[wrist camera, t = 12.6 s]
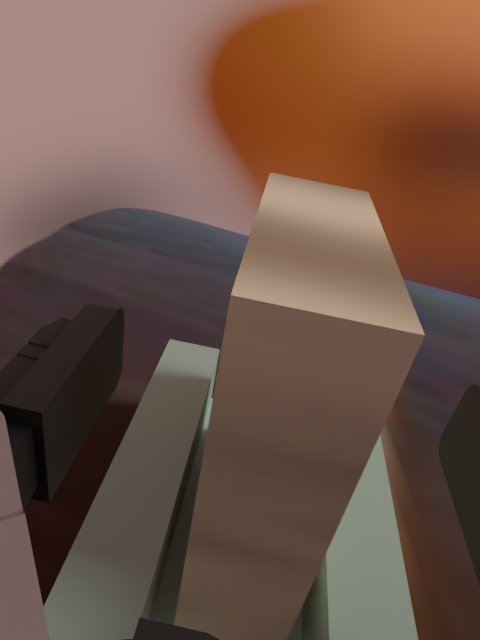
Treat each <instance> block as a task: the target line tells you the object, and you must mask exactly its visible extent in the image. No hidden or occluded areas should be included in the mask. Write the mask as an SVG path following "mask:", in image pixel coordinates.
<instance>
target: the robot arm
mask: <svg viewBox="0 0 480 640" xmlns="http://www.w3.org/2000/svg"><path fill="white" fill-rule="evenodd" d="M123 338H124V311H123V309H121V308H117V307H112V306H108V305H103V304H98V303H94V302H89V303H87V304H86V305H85V306H84V308H83V309H82V310H81V311H80V312H79V313H78V314H77V315H76V317H75V318H74V319H73V320H69V319H65V318H61V319H59V320H57V321H55V322H53V323H51V324H49V325H47V326H45V327H43V328H41V329H40V330H39V331H38V332H37V333H36V334H35V335H34V336H33V337H32V338H31V339H30V340H29V342H28V345H25V346H24V347H23V348H22V349H21V350H20V351H19V352H18V353H17V356H16V357H13V358H12V359H11V360H10V361H9V362H8V363H7V364H6V365H5V366H4V367H3V369H2V370H1V371H0V640H50V638H49V633H48V628H47V623H46V618H45V613H44V608H43V603H42V598H41V592H40V587H39V582H38V577H37V572H36V567H35V562H34V557H33V551H32V546H31V541H30V536H29V531H28V526H27V521H26V516H25V512H24V508H25V507H26V505H27V504H28V502H29V500H30V499H36V500H40V501H44V502H49V503H50V501H51V499H52V498H53V496H54V494H55V492H56V491H57V489H58V487H59V485H60V484H61V482H62V480H63V478H64V477H65V475H66V473H67V472H68V470H69V468H70V466H71V465H72V463H73V461H74V459H75V458H76V456H77V454H78V452H79V451H80V449H81V447H82V445H83V444H84V442H85V440H86V438H87V437H88V435H89V433H90V432H91V430H92V428H93V426H94V425H95V423H96V421H97V419H98V418H99V416H100V414H101V412H102V411H103V409H104V407H105V405H106V404H107V402H108V400H109V398H110V397H111V395H112V393H113V392H114V390H115V388H116V386H117V384H118V381H119V378H120V374H121V370H122V363H123ZM439 456H440V461H441V464H442V468H443V471H444V474H445V477H446V480H447V483H448V487H449V490H450V493H451V496H452V499H453V503H454V506H455V509H456V512H457V515H458V518H459V522H460V525H461V528H462V531H463V534H464V538H465V541H466V544H467V547H468V550H469V553H470V557H471V560H472V563H473V566H474V569H475V573H476V576H477V579H478V582H479V585H480V385H472V386H470V387H469V388H468V389H467V390H466V392H465V393H464V395H463V397H462V399H461V401H460V402H459V404H458V406H457V408H456V410H455V411H454V413H453V415H452V417H451V419H450V421H449V422H448V424H447V426H446V428H445V430H444V431H443V433H442V436H441V440H440V445H439ZM122 640H219V639H218V638H216V637H214V636H212V635H211V634H209V633H206V632H201V631H197V630H193V629H189V628H184V627H180V626H176V625H171V624H167V623H163V622H158V621H154V620H150V619H145V618H141V617H139V620H138V624H137V627H136V630H135V634H134V637H133V639H122Z"/></svg>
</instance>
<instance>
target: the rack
mask: <svg viewBox="0 0 480 640" xmlns="http://www.w3.org/2000/svg"><path fill="white" fill-rule="evenodd" d="M218 356H219V349H214V348H210V347H205V346H200V345H195V344H190V343H186V342H181V341H176V340H171V339H170V340H169V342H168V344H167V346H166V349H165V351H164V353H163V355H162V357H161V359H160V361H159V363H158V365H157V368H156V370H155V372H154V374H153V376H152V378H151V380H150V382H149V385H148V387H147V389H146V391H145V393H144V395H143V397H142V399H141V401H140V404H139V406H138V408H137V410H136V412H135V414H134V416H133V418H132V421H131V423H130V425H129V427H128V429H127V431H126V433H125V435H124V437H123V440H122V442H121V444H120V446H119V448H118V450H117V452H116V454H115V457H114V459H113V461H112V463H111V465H110V467H109V469H108V471H107V473H106V476H105V478H104V480H103V482H102V484H101V486H100V488H99V490H98V493H97V495H96V497H95V499H94V501H93V503H92V505H91V507H90V509H89V512H88V514H87V516H86V518H85V520H84V522H83V524H82V526H81V528H80V531H79V533H78V535H77V537H76V539H75V541H74V543H73V545H72V548H71V550H70V552H69V554H68V556H67V558H66V560H65V562H64V564H63V567H62V569H61V571H60V573H59V575H58V577H57V579H56V581H55V584H54V586H53V588H52V590H51V592H50V594H49V596H48V598H47V600H46V603H45V605H44V607H43V608H44V613H45V618H46V623H47V628H48V633H49V638H50V640H122V639H133V637H134V634H135V630H136V627H137V624H138V620H139V617H141V618H145V619H150V620H154V621H158V622H163V623H167V624H171V625H174V622H175V616H176V610H177V604H178V598H179V593H180V587H181V581H182V575H183V569H184V564H185V558H186V552H187V546H188V540H189V535H190V529H191V523H192V517H193V511H194V506H195V500H196V494H197V488H198V482H199V477H200V471H201V465H202V459H203V453H204V448H205V442H206V436H207V430H208V424H209V419H210V413H211V407H212V401H213V398H211V397H212V391H213V385H214V380H215V374H216V368H217V362H218ZM287 640H418V636H417V631H416V626H415V620H414V615H413V609H412V604H411V598H410V593H409V588H408V582H407V577H406V571H405V566H404V561H403V555H402V550H401V544H400V539H399V534H398V528H397V523H396V517H395V512H394V507H393V501H392V496H391V490H390V485H389V479H388V474H387V469H386V463H385V458H384V452H383V447H382V442H381V436H379V438H378V440H377V442H376V444H375V447H374V449H373V451H372V453H371V455H370V458H369V460H368V462H367V464H366V467H365V469H364V471H363V473H362V475H361V478H360V480H359V482H358V484H357V486H356V489H355V491H354V493H353V495H352V497H351V500H350V502H349V504H348V506H347V508H346V511H345V513H344V515H343V517H342V519H341V522H340V524H339V526H338V528H337V530H336V533H335V535H334V537H333V539H332V542H331V544H330V546H329V548H328V550H327V553H326V555H325V557H324V559H323V561H322V564H321V566H320V568H319V570H318V572H317V575H316V577H315V579H314V581H313V583H312V586H311V588H310V590H309V592H308V594H307V597H306V599H305V601H304V603H303V606H302V608H301V610H300V612H299V614H298V617H297V619H296V621H295V623H294V625H293V628H292V630H291V632H290V634H289V636H288V639H287Z"/></svg>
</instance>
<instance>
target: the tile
mask: <svg viewBox="0 0 480 640" xmlns="http://www.w3.org/2000/svg"><path fill="white" fill-rule="evenodd" d="M424 336H425V334H424V332H423V329H422V327H421V324H420V322H419V319H418V317H417V314H416V312H415V309H414V306H413V304H412V301H411V299H410V296H409V294H408V291H407V289H406V286H405V284H404V281H403V279H402V276H401V274H400V271H399V269H398V266H397V264H396V261H395V259H394V256H393V253H392V251H391V248H390V246H389V243H388V241H387V238H386V236H385V233H384V231H383V228H382V226H381V223H380V220H379V218H378V215H377V213H376V210H375V208H374V205H373V203H372V200H371V198H370V195H369V193H368V192H365V191H360V190H355V189H350V188H345V187H340V186H335V185H330V184H325V183H320V182H314V181H310V180H305V179H299V178H295V177H290V176H285V175H280V174H275V173H270V175H269V178H268V181H267V185H266V187H265V191H264V193H263V197H262V200H261V203H260V206H259V209H258V212H257V215H256V218H255V221H254V225H253V228H252V231H251V234H250V237H249V240H248V243H247V246H246V249H245V253H244V256H243V259H242V262H241V265H240V268H239V271H238V274H237V277H236V280H235V284H234V287H233V290H232V293H231V297H230V303H229V308H228V314H227V320H226V326H225V332H224V337H223V343H222V349H221V355H220V361H219V366H218V372H217V378H216V384H215V390H214V395H213V401H212V407H211V413H210V419H209V424H208V430H207V436H206V442H205V448H204V453H203V459H202V465H201V471H200V477H199V482H198V488H197V494H196V500H195V506H194V511H193V517H192V523H191V529H190V535H189V540H188V546H187V552H186V558H185V564H184V569H183V575H182V581H181V587H180V593H179V598H178V604H177V610H176V616H175V622H174V625H176V626H180V627H184V628H189V629H193V630H197V631H201V632H206V633H209V634H211V635H212V636H214V637H216V638H218V639H219V640H287V639H288V636H289V634H290V632H291V630H292V628H293V625H294V623H295V621H296V619H297V617H298V614H299V612H300V610H301V608H302V606H303V603H304V601H305V599H306V597H307V594H308V592H309V590H310V588H311V586H312V583H313V581H314V579H315V577H316V575H317V572H318V570H319V568H320V566H321V564H322V561H323V559H324V557H325V555H326V553H327V550H328V548H329V546H330V544H331V542H332V539H333V537H334V535H335V533H336V530H337V528H338V526H339V524H340V522H341V519H342V517H343V515H344V513H345V511H346V508H347V506H348V504H349V502H350V500H351V497H352V495H353V493H354V491H355V489H356V486H357V484H358V482H359V480H360V478H361V475H362V473H363V471H364V469H365V467H366V464H367V462H368V460H369V458H370V455H371V453H372V451H373V449H374V447H375V444H376V442H377V440H378V438H379V436H380V433H381V431H382V429H383V427H384V425H385V422H386V420H387V418H388V416H389V414H390V411H391V409H392V407H393V405H394V403H395V400H396V398H397V396H398V394H399V391H400V389H401V387H402V385H403V383H404V380H405V378H406V376H407V374H408V372H409V369H410V367H411V365H412V363H413V361H414V358H415V356H416V354H417V352H418V350H419V347H420V345H421V343H422V341H423V339H424Z"/></svg>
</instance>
